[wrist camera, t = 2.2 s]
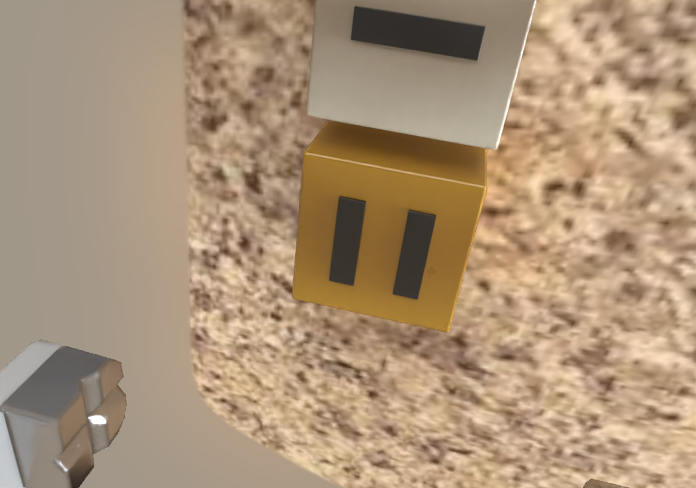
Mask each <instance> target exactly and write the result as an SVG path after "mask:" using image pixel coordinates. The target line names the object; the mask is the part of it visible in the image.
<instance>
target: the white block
mask: <svg viewBox="0 0 696 488" xmlns="http://www.w3.org/2000/svg"><path fill="white" fill-rule="evenodd" d="M536 3H537V0H316V1H315V13H314V25H313V38H312V50H311V63H310V75H309V87H308V100H307V112H306V113H307V115H308V116H310V117H316V118H321V119H327V120H332V121H338V122H343V123H349V124H354V125H360V126H365V127H371V128H376V129H382V130H387V131H393V132H398V133H404V134H409V135H415V136H420V137H426V138H431V139H437V140H442V141H448V142H453V143H459V144H464V145H470V146H475V147H481V148H486V149H492V150H496V149H497V148H498V145H499V141H500V138H501V134H502V130H503V126H504V123H505V119H506V115H507V111H508V108H509V104H510V100H511V96H512V93H513V89H514V85H515V81H516V78H517V74H518V70H519V66H520V63H521V59H522V55H523V51H524V48H525V44H526V40H527V36H528V33H529V29H530V25H531V21H532V18H533V14H534V10H535V7H536Z"/></svg>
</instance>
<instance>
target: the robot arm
mask: <svg viewBox="0 0 696 488" xmlns="http://www.w3.org/2000/svg"><path fill="white" fill-rule="evenodd" d="M122 378H123V370H122V365H121V362H119V361H117V360H113V359H110V358H107V357H103V356H100V355H96V354H92V353H89V352H85V351H82V350H78V349H75V348H71V347H67V346H62V345H59V344H55V343H52V342H48V341H44V340H39V341H36V342H33V343H31V344H30V345H29V346H27V348H25V349H24V350H23V351H22V352H21V353H20V354H19V355H18V356H17V357H15V358H14V359H13V360H12V361H11V362H10V363H9V364H8V365H7V366H6V367H5V368H3V369H2V370H1V371H0V488H23V487H25V488H79V487H80V485H81V484H82V483H83V481H84V480H85V478H86V477H87V476H88V474H89V473H90V472H91V470H92V469H93V468H94V457H93V454H95V453H97V452H99V451H101V450H102V449H105V448H106V447H108V446H109V445H110V444H111V442H112V441H113V440H114V438H115V437H116V435H117V434H118V432H119V430H120V427H121V425H122V422H123V420H124V418H125V411H126V405H127V404H126V395H125V393H124V392H123V391H122V390H121V388H120V387H119V386H118V383H119V382H120V380H121V379H122ZM583 488H628V487H624V486H620V485H616V484H612V483H607V482H603V481H599V480H595V479H590V480H589V481H587V482H586V483H585V485H584V487H583Z"/></svg>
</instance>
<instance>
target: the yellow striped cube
mask: <svg viewBox="0 0 696 488" xmlns="http://www.w3.org/2000/svg"><path fill="white" fill-rule="evenodd" d="M486 191H487V151H486V148H481V147H475V146H470V145H464V144H459V143H453V142H448V141H442V140H437V139H431V138H426V137H420V136H415V135H409V134H404V133H398V132H393V131H387V130H382V129H376V128H371V127H365V126H360V125H354V124H349V123H343V122H338V121H332V120H328V121H327V122H326V124H325V125H324V126H323V128H322V129H321V130H320V132H319V133H318V134H317V136H316V137H315V138H314V140H313V141H312V143H311V144H310V145H309V147H308V148H307V149H306V151H305V152H304V154H303V166H302V178H301V191H300V203H299V216H298V228H297V240H296V253H295V265H294V277H293V290H292V297H293V299H297V300H301V301H306V302H310V303H315V304H319V305H324V306H328V307H333V308H338V309H342V310H347V311H351V312H356V313H360V314H365V315H369V316H374V317H379V318H383V319H388V320H392V321H397V322H401V323H406V324H410V325H415V326H420V327H424V328H429V329H433V330H438V331H442V332H448V331H449V329H450V326H451V322H452V318H453V314H454V311H455V307H456V303H457V299H458V296H459V292H460V288H461V284H462V281H463V277H464V273H465V269H466V266H467V262H468V258H469V255H470V251H471V247H472V243H473V240H474V236H475V232H476V228H477V225H478V221H479V217H480V213H481V210H482V206H483V202H484V198H485V195H486Z"/></svg>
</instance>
